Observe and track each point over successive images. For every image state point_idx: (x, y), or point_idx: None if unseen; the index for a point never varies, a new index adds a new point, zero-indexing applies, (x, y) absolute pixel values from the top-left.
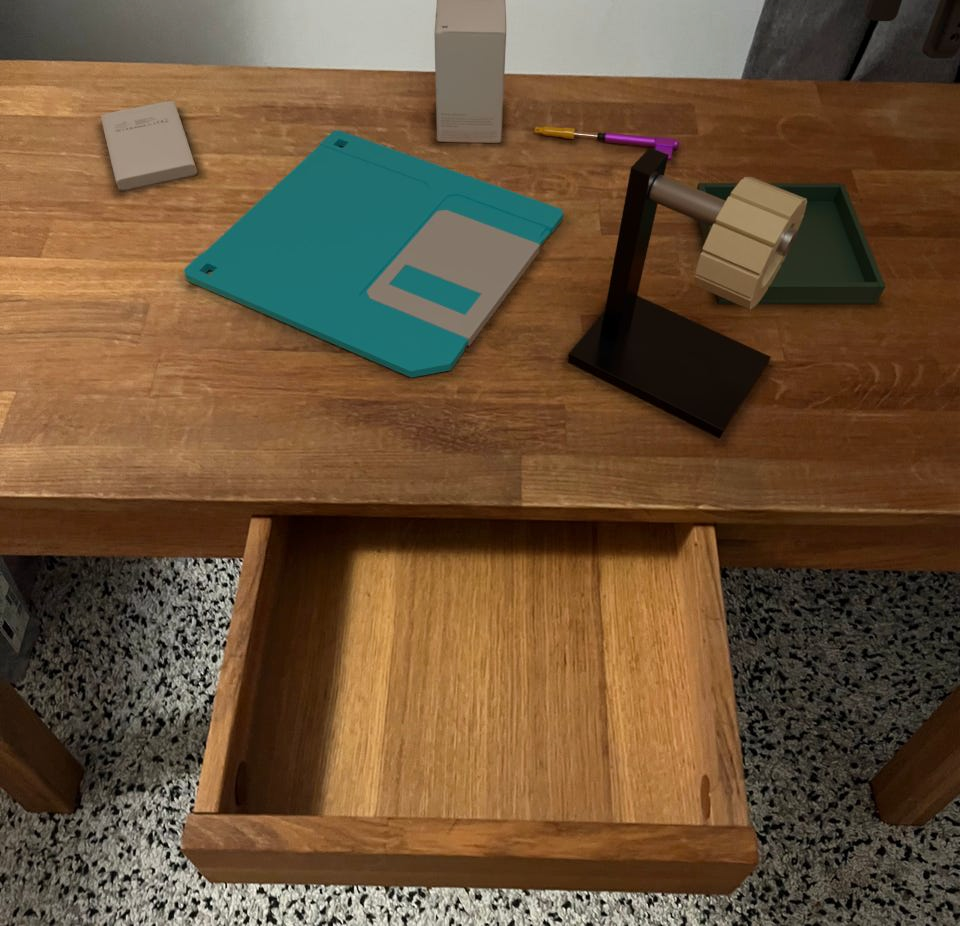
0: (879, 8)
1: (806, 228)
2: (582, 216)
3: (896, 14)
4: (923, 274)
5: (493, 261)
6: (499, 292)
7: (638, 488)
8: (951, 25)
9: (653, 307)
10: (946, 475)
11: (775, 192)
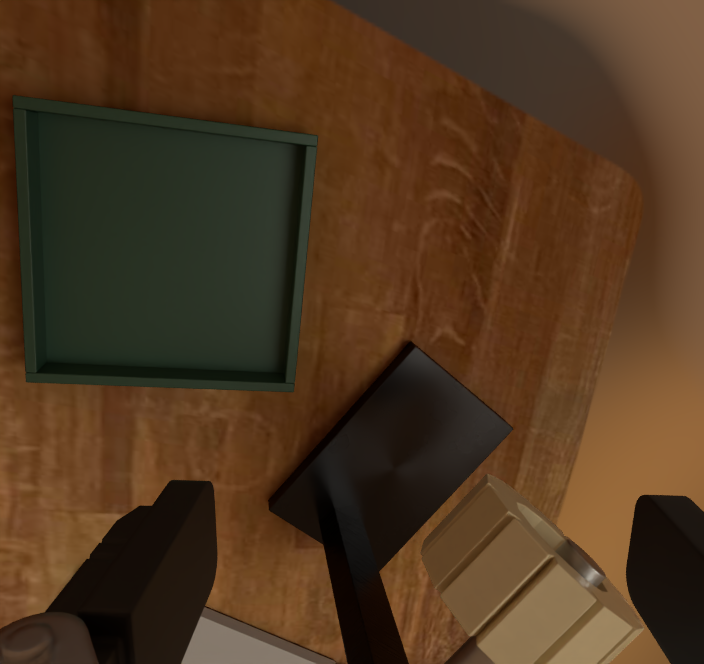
0: (205, 574)
1: (124, 196)
2: (86, 535)
3: (204, 486)
4: (247, 13)
5: (204, 655)
6: (263, 646)
7: (546, 509)
8: None
9: (308, 477)
10: (612, 170)
11: (570, 643)
